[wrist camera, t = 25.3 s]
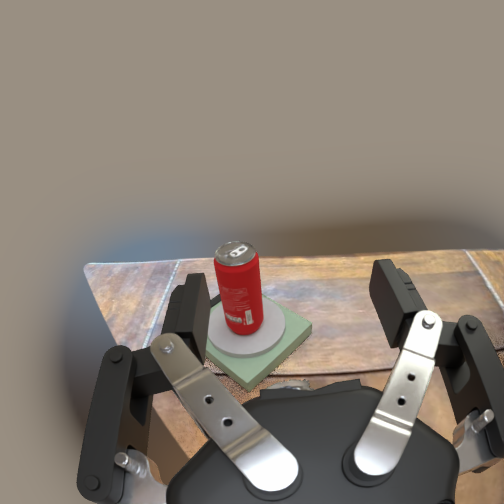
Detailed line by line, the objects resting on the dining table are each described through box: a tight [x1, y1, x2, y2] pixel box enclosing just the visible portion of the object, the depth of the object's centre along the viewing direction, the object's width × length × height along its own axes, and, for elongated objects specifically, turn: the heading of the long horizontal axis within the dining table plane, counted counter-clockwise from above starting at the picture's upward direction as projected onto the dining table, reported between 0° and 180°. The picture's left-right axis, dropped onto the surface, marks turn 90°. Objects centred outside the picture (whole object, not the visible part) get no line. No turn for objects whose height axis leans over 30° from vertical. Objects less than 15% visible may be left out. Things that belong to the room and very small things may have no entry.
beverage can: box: [214, 241, 264, 335], centre depth 38 cm, size 5×5×12 cm
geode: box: [266, 379, 314, 391], centre depth 34 cm, size 7×8×2 cm
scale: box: [205, 294, 312, 392], centre depth 43 cm, size 13×15×3 cm
